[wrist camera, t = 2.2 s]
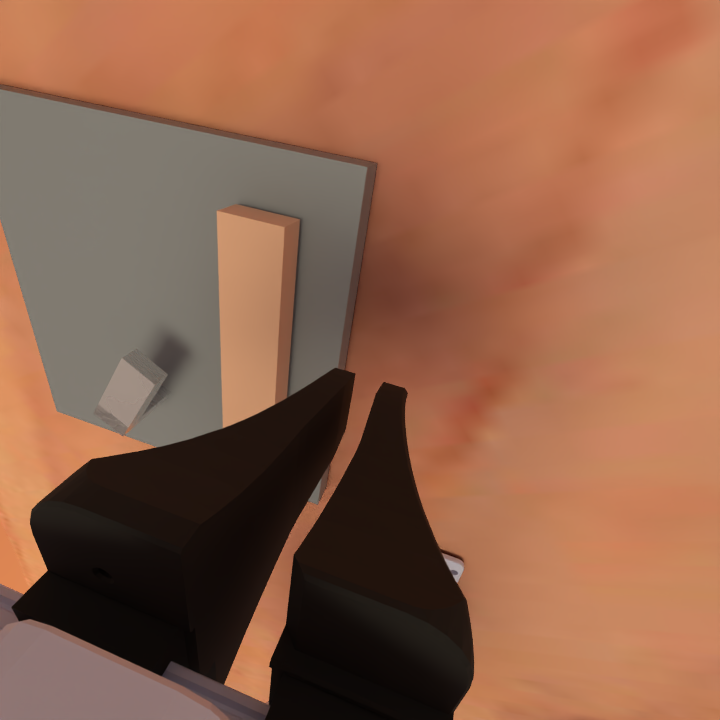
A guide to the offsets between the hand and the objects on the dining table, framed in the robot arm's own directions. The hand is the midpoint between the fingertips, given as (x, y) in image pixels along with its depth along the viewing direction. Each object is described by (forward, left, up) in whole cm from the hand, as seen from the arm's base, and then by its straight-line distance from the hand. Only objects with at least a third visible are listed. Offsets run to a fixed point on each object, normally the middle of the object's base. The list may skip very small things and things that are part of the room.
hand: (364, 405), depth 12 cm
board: (-5, +13, -9) cm, 17 cm away
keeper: (-8, +13, -8) cm, 17 cm away
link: (-5, +7, -8) cm, 12 cm away
